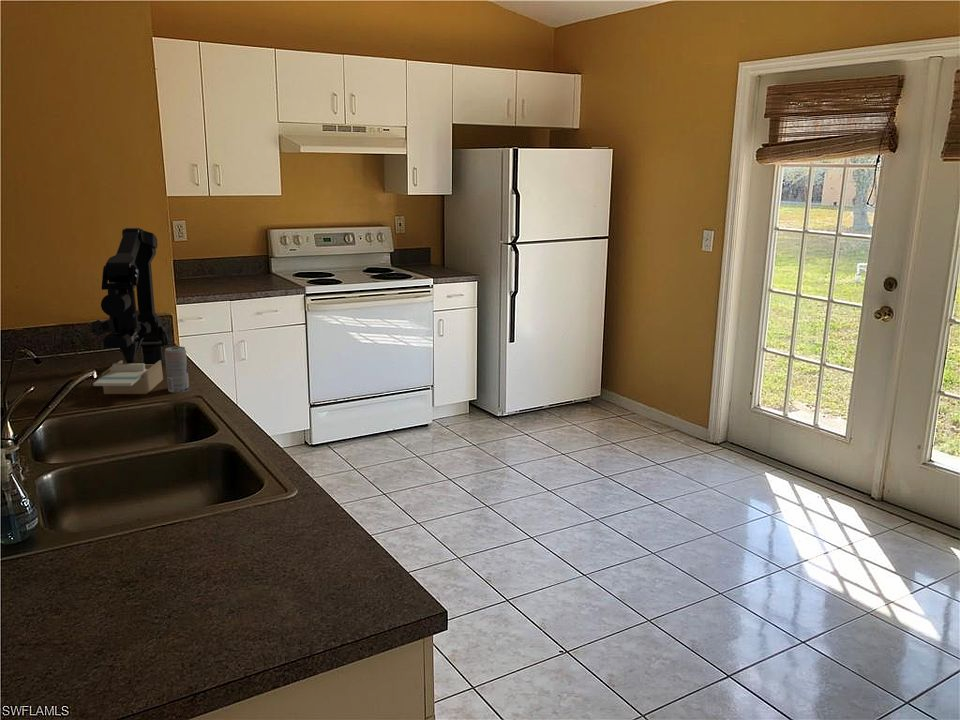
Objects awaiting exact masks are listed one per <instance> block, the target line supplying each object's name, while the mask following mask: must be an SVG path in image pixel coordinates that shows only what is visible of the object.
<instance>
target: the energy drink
mask: <svg viewBox="0 0 960 720" xmlns="http://www.w3.org/2000/svg"><path fill="white" fill-rule="evenodd" d="M164 360H165V361H166V363H165V369H166V370H165V371H166V379H167V382H166V383H167V390H168V392H170V393H172V394H173V393H177V394H179V393H184V392H188V391H189V390H190V379H189V371H188V359H187V350H186V348H185V346H169V347H166V348H165V350H164Z"/></svg>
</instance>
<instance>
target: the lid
mask: <svg viewBox="0 0 960 720" xmlns="http://www.w3.org/2000/svg"><path fill="white" fill-rule="evenodd" d="M112 366H113V370H111V371H110V372H108V373H107V374H106V375H104V376H103V377H102V376H100V377H99V378H98V379H97V380H96V381H94V382H93V383H92V384H93V385H92V386H93V387H103V386H132V385H133V384H134V383H136V382H137V381H138V380H139V379H141V378H142V377H143V373H144V372H145V371H146V370H148V369H145V363H143V362H141V363H139V362H138V363H135V362H134V363H127V362H126V363H124V362H123V363H118V362H116V363H115V362H114V363H112Z"/></svg>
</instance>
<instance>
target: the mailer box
mask: <svg viewBox="0 0 960 720" xmlns="http://www.w3.org/2000/svg"><path fill="white" fill-rule="evenodd" d="M123 361H124V360H123V359H122V360H121V359H120V360H119V361H118V362H117V363H124V362H123ZM162 367H163V366H162V364H161V360H159V361H158V362H157V363H155V364H145V369H148V370H146V371H145V372H144V373H143V377H142V378H141V379H139V380H138V381H137V382H136V383H134V384H133V385H132V386H102V388H103V394H104V395H147V394H148V393H150V392H151V391H152V390H154V388H155V387H156V386H157V385H159V384H160V383H161V382H162V381H164V376H163V368H162ZM111 370H113V365H112V366H110V367H109V368H108V369H106V370H104V371H103V372H101V377H103V376H104V375H106V374H107V373H108V372H110V371H111Z"/></svg>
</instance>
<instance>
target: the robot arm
mask: <svg viewBox="0 0 960 720" xmlns="http://www.w3.org/2000/svg"><path fill="white" fill-rule="evenodd" d="M157 249H158V239H157V235H155V234H154V233H153V232H151V231H150V232H149V231H146V230H144V229H142V228H140V227H126V228H123V229H122V231H121V239H120V242H119V246H118V248H117V251H116V253H115V255H113V256H111V257H109V258H108V259H107V260H106V262H105V265H103V269H102V277H101V279H102V280H101V290H102V291H106V290H107V294H106V295H104V297H102V299H101V302H100V308H101V310H102V311H103V313H105V314H106V315H107V316H109V318H107V319H104V320H100V319H97V320H95V321H94V320H93V321H91V323H90V326H89V328H90V330H89V331H90V333H92V334H94V336H95V337H96V338H97V337H100V336H101V335H104V334H106V333H109V334H107V335H106V336H104V337H103V338H102V339H101V346H102V348H109V349H110V348H111V349H112V348H119V349H120V352H121V353H122V355H123V357H124V359H125V361H126V363H135V361H136V358H137V357H138V356H137V355H138V353H139V350H140V348H141V358H142V359H141V360H142V363H145V364H155V363H157V362H158V361H159V360H161V364H162V367H163V366H164V365H166V361H165V359H164V357H163V356H164V355H163V347H165V346H168V345H169V337H168V334H167V331H166V330H165V327H164V326H163V324H162V322H163V321H162V319H161V318H160V316H159V315H158V314H157V313H156V310H155V299H154V297H155V294H154V283H153V275H152V274H153V273H152V272H153V271H152V262H153V260H154V258H155V256H156V254H157ZM135 289H136V291H135ZM135 293H136V294H135ZM136 299H137V301H136Z"/></svg>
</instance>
